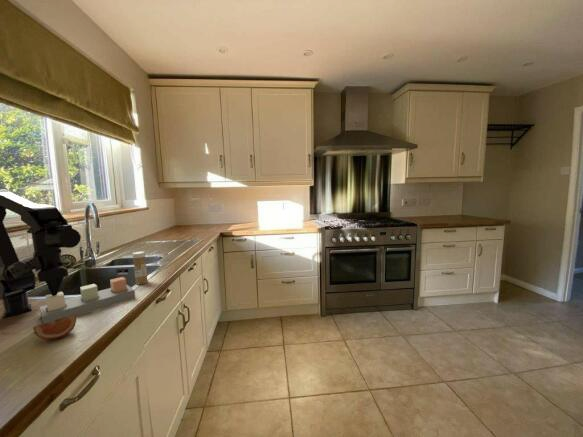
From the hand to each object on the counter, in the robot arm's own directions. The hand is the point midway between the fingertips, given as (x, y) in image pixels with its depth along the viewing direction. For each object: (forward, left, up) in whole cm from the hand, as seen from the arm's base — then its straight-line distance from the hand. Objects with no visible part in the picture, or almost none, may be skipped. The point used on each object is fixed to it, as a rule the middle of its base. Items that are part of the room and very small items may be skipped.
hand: (54, 295), depth 79 cm
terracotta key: (0, +17, -5) cm, 18 cm away
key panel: (0, +9, -7) cm, 11 cm away
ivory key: (0, 0, -5) cm, 5 cm away
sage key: (0, +9, -5) cm, 10 cm away
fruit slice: (+16, -1, -7) cm, 18 cm away
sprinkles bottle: (-10, +28, -7) cm, 30 cm away
